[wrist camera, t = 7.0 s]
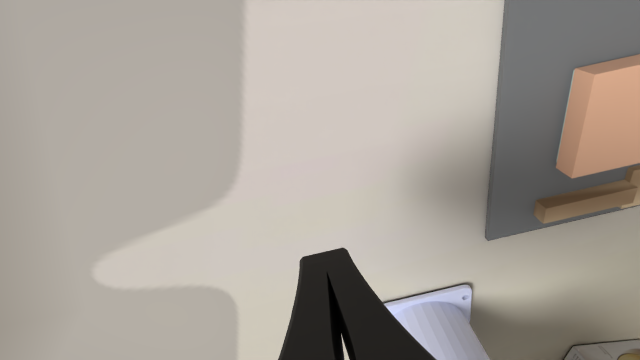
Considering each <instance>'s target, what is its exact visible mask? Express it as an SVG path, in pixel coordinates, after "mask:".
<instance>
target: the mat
mask: <svg viewBox="0 0 640 360" xmlns="http://www.w3.org/2000/svg"><path fill="white" fill-rule="evenodd" d="M638 54H640V0H505V4H504V16H503V28H502V40H501V52H500V63H499V75H498V87H497V99H496V111H495V123H494V135H493V147H492V159H491V171H490V183H489V195H488V207H487V219H486V231H485V238H486V239H487V240H488V241H489V240H494V239H498V238H502V237H507V236H511V235H515V234H519V233H524V232H528V231H532V230H537V229H541V228H545V227H549V226H554V225H558V224H562V223H567V222H571V221H575V220H580V219H584V218H588V217H592V216H597V215H601V214H605V213H610V212H614V211H618V210H622V209H621V208H619V207H614V208H609V209H605V210H601V211H596V212H592V213H588V214H583V215H579V216H575V217H571V218H566V219H562V220H558V221H553V222H549V223H545V224H543V223H542V222H541V221H540V220H539V219H537V218H536V217H535V216H534V215H533V213H534V207H535V201H536V200H538V199H542V198H546V197H551V196H555V195H559V194H564V193H568V192H572V191H577V190H581V189H586V188H590V187H594V186H599V185H603V184H607V183H612V182H616V181H620V180H624V179H625V176H626V173H627V170H628V168H629V167H633V166H637V165H640V163H637V164H633V165H628V166H624V167H620V168H615V169H611V170H607V171H602V172H598V173H594V174H589V175H585V176H580V177H576V178H570V177H569V176H567V175H566V174H564V173H563V172H561V171H560V170H558V169H557V168H556V164H557V162H556V160H557V155H558V149H559V144H560V139H561V134H562V128H563V123H564V118H565V113H566V107H567V102H568V97H569V92H570V86H571V81H572V76H573V71H574V70H575V68H579V67H584V66H588V65H593V64H597V63H602V62H606V61H611V60H615V59H620V58H624V57H629V56H634V55H638ZM636 206H640V205H636ZM631 207H635V206H631ZM631 207H627V208H631ZM627 208H623V209H627Z"/></svg>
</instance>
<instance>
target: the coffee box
mask: <svg viewBox="0 0 640 360" xmlns="http://www.w3.org/2000/svg"><path fill="white" fill-rule="evenodd" d="M564 360H640V339H639V340H629V341H619V342H609V343H599V344H590V345H580V346H573V347H572V349H571V350H570V351H569V353H568V354H567V356H566V357H565V359H564Z"/></svg>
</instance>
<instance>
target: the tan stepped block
mask: <svg viewBox="0 0 640 360" xmlns="http://www.w3.org/2000/svg"><path fill="white" fill-rule="evenodd" d="M636 205H640V165H637V166H633V167H629V168H628V170H627V173H626V176H625V179H624V180H620V181H616V182H612V183H607V184H603V185H599V186H594V187H590V188H586V189H581V190H577V191H572V192H568V193H564V194H559V195H555V196H551V197H546V198H542V199H538V200H536V201H535V207H534V213H533V215H534V216H535V217H536V218H537V219H539V220H540V221H541V222H542V223H543V224H545V223H549V222H553V221H558V220H562V219H566V218H571V217H575V216H579V215H583V214H588V213H592V212H596V211H601V210H605V209H609V208H614V207H619V208H621V209H623V208H627V207H631V206H636Z"/></svg>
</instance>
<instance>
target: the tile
mask: <svg viewBox="0 0 640 360" xmlns="http://www.w3.org/2000/svg"><path fill="white" fill-rule="evenodd" d="M556 162H557V164H556V168H557V169H558V170H560V171H561V172H563V173H564V174H566V175H567V176H569V177H570V178H576V177H580V176H585V175H589V174H594V173H598V172H602V171H607V170H611V169H615V168H620V167H624V166H628V165H633V164H637V163H640V54H638V55H634V56H629V57H624V58H620V59H615V60H611V61H606V62H602V63H597V64H593V65H588V66H584V67H579V68H575V70H574V71H573V76H572V81H571V86H570V92H569V97H568V102H567V107H566V113H565V118H564V123H563V128H562V134H561V139H560V144H559V149H558V155H557V160H556Z"/></svg>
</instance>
